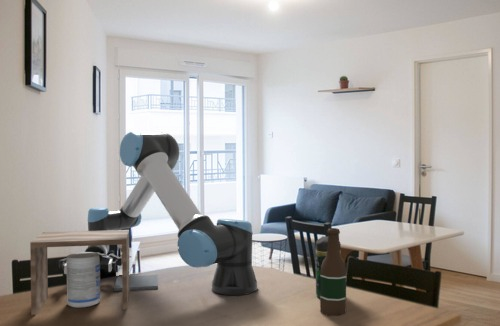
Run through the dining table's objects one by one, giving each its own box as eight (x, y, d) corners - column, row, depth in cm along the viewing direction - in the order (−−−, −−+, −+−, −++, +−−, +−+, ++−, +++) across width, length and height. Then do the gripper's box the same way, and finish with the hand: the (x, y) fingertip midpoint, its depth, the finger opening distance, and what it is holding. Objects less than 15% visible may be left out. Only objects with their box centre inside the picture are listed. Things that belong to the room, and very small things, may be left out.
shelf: (126, 309, 142) (126, 239, 141) (31, 315, 137) (30, 242, 136) (129, 292, 158) (129, 229, 157) (43, 297, 152) (42, 232, 152)
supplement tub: (104, 304, 146) (103, 256, 145) (71, 310, 140) (70, 260, 140) (95, 296, 154) (94, 250, 153) (63, 301, 149) (63, 253, 148)
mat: (157, 288, 162) (157, 285, 162) (114, 291, 159) (114, 288, 159) (157, 277, 176) (157, 274, 176) (117, 279, 173) (117, 276, 173)
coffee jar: (315, 290, 161) (315, 234, 160) (339, 291, 160) (340, 235, 159) (315, 299, 151) (315, 240, 151) (341, 300, 150) (341, 240, 150)
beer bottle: (340, 318, 135) (341, 232, 134) (314, 313, 139) (315, 229, 138) (350, 310, 141) (351, 228, 141) (325, 305, 146) (326, 225, 145)
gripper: (130, 263, 180) (127, 278, 159) (59, 266, 175) (46, 282, 155) (130, 242, 180) (127, 255, 159) (59, 245, 175) (46, 258, 154)
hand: (87, 268), depth 157 cm, fingers open, 13 cm apart
